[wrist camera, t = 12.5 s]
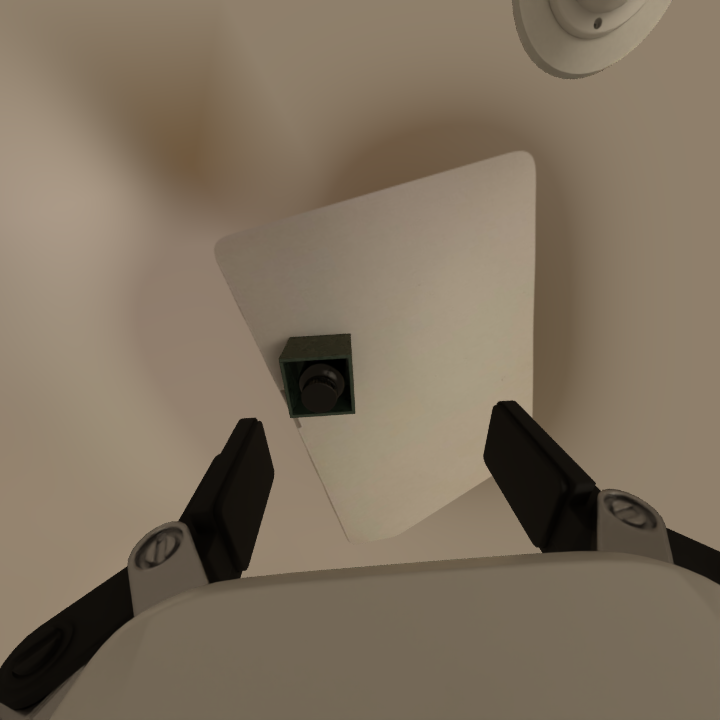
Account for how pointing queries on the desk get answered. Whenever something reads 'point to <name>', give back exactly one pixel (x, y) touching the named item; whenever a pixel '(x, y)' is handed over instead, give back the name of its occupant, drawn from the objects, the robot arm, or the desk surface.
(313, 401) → the supplement bottle
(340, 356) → the open box
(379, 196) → the desk surface
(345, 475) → the desk surface
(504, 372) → the desk surface
